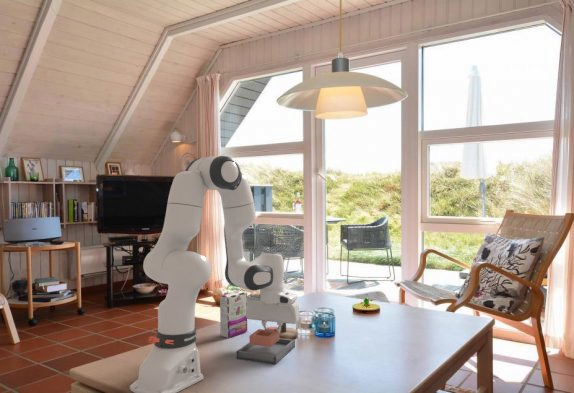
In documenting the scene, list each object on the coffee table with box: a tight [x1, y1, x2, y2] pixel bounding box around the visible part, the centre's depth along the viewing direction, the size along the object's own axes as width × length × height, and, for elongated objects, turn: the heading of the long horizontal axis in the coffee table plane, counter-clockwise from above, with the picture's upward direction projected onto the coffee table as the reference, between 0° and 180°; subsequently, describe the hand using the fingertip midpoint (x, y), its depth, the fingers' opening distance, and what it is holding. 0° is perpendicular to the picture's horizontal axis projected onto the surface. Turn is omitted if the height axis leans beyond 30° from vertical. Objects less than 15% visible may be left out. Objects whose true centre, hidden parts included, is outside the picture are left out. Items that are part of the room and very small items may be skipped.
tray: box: [235, 338, 296, 365], centre depth 163 cm, size 19×15×2 cm
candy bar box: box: [219, 290, 248, 339], centre depth 184 cm, size 11×5×16 cm, turn 143°
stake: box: [279, 323, 298, 340], centre depth 181 cm, size 11×11×13 cm
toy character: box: [359, 297, 374, 308], centre depth 221 cm, size 11×12×7 cm
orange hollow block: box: [248, 326, 279, 347], centre depth 163 cm, size 12×8×3 cm, turn 159°
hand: (272, 333), depth 167 cm, fingers closed on orange hollow block, 2 cm apart
